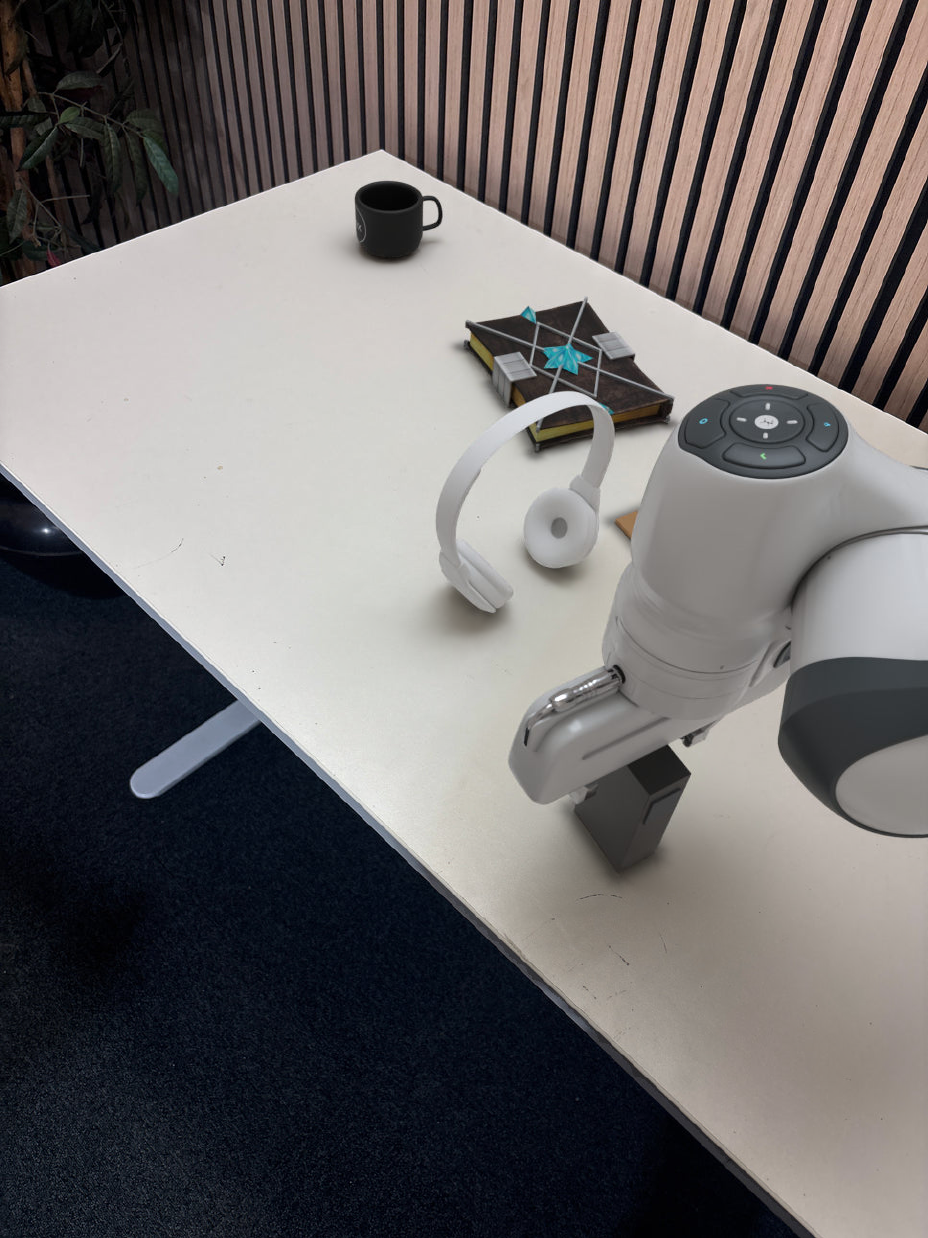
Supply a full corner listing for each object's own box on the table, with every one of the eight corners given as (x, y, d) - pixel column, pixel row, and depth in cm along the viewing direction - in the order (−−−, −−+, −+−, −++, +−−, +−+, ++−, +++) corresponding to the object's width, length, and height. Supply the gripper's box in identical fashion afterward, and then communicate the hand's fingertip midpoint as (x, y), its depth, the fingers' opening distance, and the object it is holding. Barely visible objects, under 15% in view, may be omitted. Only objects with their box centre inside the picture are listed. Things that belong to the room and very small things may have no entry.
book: (670, 423, 103) (680, 386, 99) (535, 455, 99) (540, 418, 95) (584, 320, 116) (590, 284, 112) (460, 345, 111) (462, 308, 107)
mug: (366, 268, 122) (364, 216, 116) (349, 235, 127) (346, 183, 121) (452, 256, 124) (453, 205, 119) (432, 224, 130) (432, 173, 124)
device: (656, 854, 70) (693, 775, 61) (619, 875, 69) (651, 797, 59) (609, 791, 73) (638, 706, 64) (573, 809, 72) (597, 726, 63)
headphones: (610, 559, 89) (651, 390, 74) (464, 647, 82) (475, 479, 66) (561, 517, 93) (591, 347, 77) (416, 598, 85) (417, 427, 70)
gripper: (561, 755, 47) (532, 868, 58) (847, 618, 54) (774, 740, 65) (499, 668, 51) (482, 789, 61) (776, 549, 58) (718, 676, 68)
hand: (634, 763), depth 63 cm, fingers open, 8 cm apart
